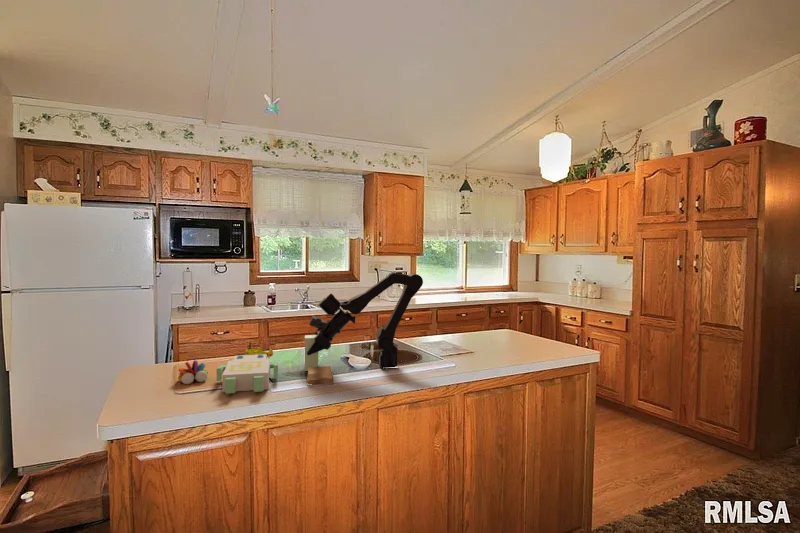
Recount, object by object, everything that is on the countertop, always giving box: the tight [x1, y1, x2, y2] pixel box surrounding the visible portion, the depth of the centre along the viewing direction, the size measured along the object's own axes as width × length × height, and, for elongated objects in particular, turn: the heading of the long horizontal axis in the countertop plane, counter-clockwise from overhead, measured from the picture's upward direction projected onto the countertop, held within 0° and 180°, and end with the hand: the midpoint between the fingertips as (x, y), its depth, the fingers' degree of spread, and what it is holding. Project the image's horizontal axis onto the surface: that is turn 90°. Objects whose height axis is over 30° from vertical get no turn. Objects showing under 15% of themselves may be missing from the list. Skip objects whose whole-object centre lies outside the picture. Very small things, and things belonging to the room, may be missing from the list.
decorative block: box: [216, 354, 279, 395], centre depth 151 cm, size 26×6×20 cm
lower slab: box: [306, 371, 334, 386], centre depth 155 cm, size 9×9×2 cm
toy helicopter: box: [243, 342, 274, 359], centre depth 168 cm, size 6×18×10 cm, turn 155°
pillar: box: [304, 334, 319, 372], centre depth 166 cm, size 5×5×13 cm
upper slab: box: [307, 365, 333, 380], centre depth 154 cm, size 8×8×2 cm
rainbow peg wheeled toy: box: [177, 359, 209, 385], centre depth 153 cm, size 8×10×7 cm
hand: (307, 352), depth 166 cm, fingers closed on pillar, 5 cm apart
